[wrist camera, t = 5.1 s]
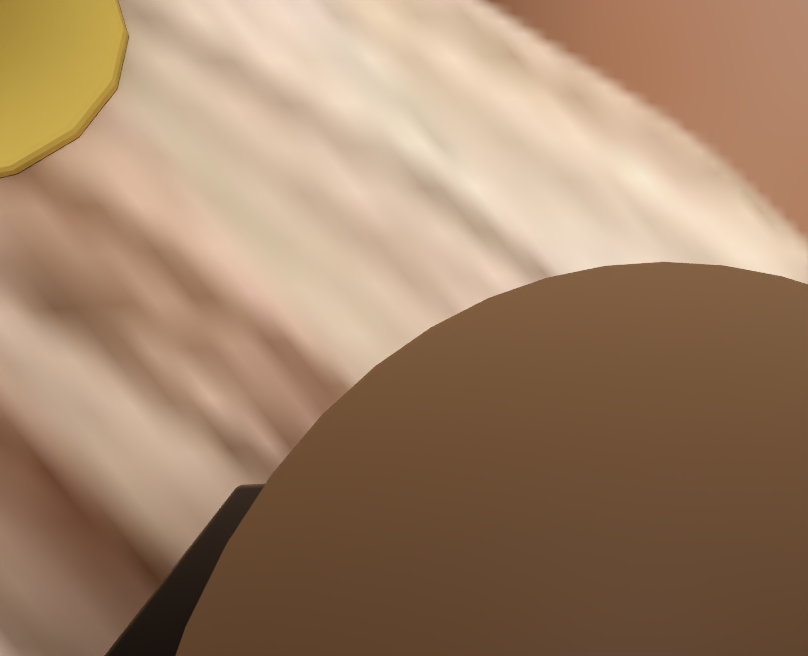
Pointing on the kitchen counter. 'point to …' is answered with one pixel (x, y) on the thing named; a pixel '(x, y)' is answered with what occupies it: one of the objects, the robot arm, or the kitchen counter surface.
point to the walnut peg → (546, 484)
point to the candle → (54, 73)
